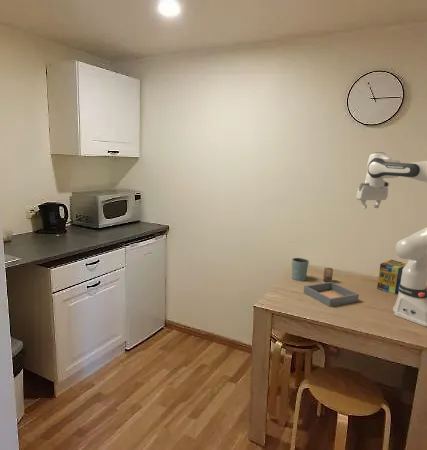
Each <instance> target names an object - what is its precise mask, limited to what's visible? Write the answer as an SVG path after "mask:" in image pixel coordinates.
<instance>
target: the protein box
mask: <svg viewBox="0 0 427 450" xmlns="http://www.w3.org/2000/svg"><path fill="white" fill-rule="evenodd" d="M406 264H407V263H405V262H403V261H398V260H394V259H389V260H387V261H384V262H382V263H380V264H379V271H378V279H377V285H376V289H377V290H380V291H383V292H387V293H389V294H394V295H396V294H398V293H399V292H398V289H399V283H401V276H402V270H403V268H404V266H405V265H406Z"/></svg>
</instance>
